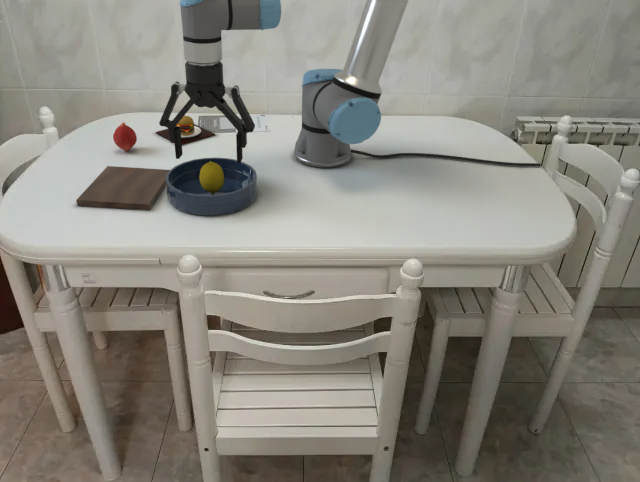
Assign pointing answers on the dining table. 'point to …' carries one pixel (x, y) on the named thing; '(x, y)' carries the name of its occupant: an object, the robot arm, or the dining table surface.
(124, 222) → the dining table surface
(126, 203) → the board
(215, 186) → the lemon
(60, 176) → the dining table surface
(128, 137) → the onion
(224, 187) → the bowl
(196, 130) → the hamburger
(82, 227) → the dining table surface
